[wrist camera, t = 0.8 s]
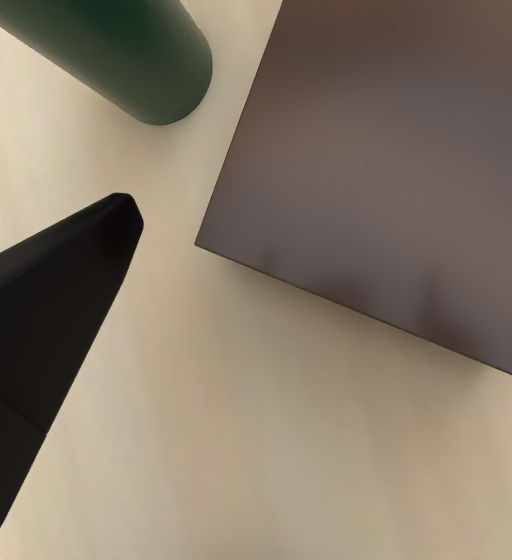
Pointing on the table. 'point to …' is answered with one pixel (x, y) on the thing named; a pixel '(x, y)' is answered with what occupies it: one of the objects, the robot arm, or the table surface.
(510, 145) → the shelf
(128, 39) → the tea tin
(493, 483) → the table surface
